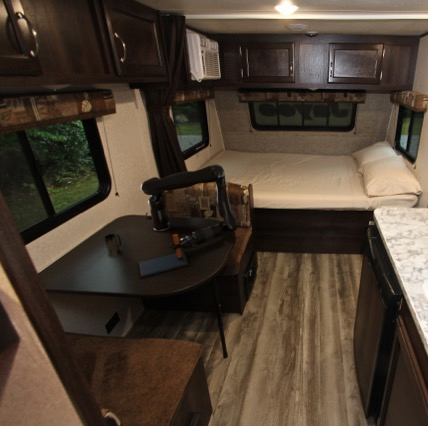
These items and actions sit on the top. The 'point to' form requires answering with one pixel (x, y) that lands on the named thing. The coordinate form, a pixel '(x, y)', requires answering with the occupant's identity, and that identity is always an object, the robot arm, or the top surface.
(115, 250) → the mug
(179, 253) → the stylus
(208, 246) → the top surface
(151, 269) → the tablet
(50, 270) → the top surface
